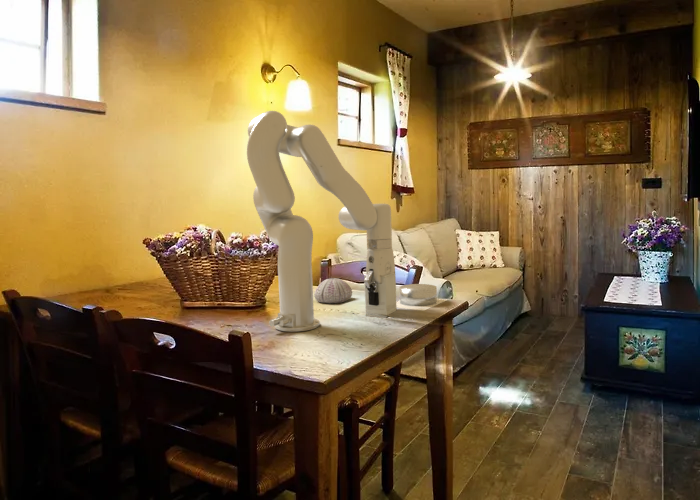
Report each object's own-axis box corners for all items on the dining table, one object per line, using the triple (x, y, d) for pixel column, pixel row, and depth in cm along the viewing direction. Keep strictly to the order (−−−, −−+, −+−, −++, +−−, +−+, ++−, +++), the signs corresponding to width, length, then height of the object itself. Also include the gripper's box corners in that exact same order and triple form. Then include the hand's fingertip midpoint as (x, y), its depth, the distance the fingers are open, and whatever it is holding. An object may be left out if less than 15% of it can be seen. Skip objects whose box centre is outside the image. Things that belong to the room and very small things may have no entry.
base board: (424, 313, 163) (423, 310, 163) (384, 309, 171) (384, 306, 170) (448, 302, 178) (448, 299, 177) (410, 298, 185) (410, 296, 185)
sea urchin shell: (342, 306, 178) (341, 282, 177) (306, 303, 184) (305, 280, 183) (358, 298, 190) (358, 276, 189) (325, 296, 196) (324, 274, 195)
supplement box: (397, 313, 165) (396, 272, 163) (386, 318, 158) (385, 276, 157) (376, 311, 168) (375, 271, 167) (364, 316, 162) (363, 275, 161)
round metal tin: (426, 307, 167) (426, 291, 166) (393, 304, 173) (392, 288, 173) (442, 300, 176) (442, 285, 176) (410, 297, 183) (410, 283, 183)
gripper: (375, 248, 152) (376, 309, 154) (404, 242, 166) (405, 298, 168) (353, 247, 156) (354, 306, 158) (383, 241, 170) (384, 296, 172)
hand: (380, 302), depth 163 cm, fingers closed on supplement box, 7 cm apart
